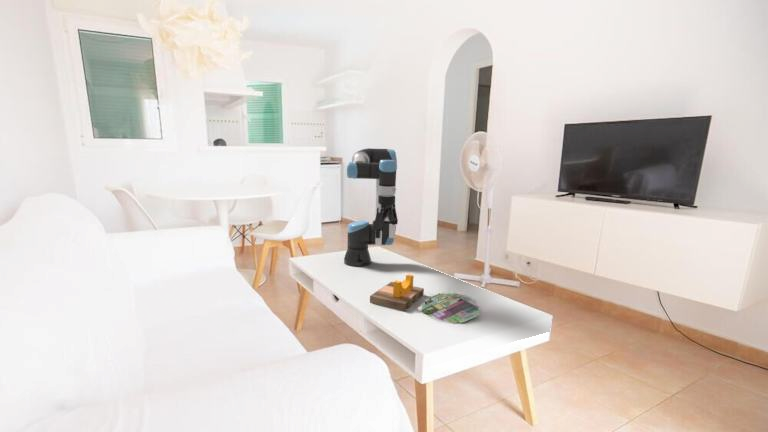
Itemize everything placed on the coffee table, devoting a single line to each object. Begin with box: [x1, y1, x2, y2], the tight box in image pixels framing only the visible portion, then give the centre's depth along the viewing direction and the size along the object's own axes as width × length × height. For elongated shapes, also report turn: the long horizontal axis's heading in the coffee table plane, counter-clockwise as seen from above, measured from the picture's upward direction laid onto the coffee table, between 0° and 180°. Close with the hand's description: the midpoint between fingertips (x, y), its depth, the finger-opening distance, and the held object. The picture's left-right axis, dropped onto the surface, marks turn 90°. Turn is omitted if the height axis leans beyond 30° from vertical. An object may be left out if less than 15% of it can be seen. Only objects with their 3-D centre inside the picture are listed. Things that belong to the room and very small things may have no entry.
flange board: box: [369, 281, 425, 312], centre depth 160 cm, size 20×16×3 cm
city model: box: [420, 292, 481, 325], centre depth 149 cm, size 25×23×6 cm
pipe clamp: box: [393, 274, 414, 298], centre depth 158 cm, size 12×4×6 cm, turn 146°
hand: (385, 241), depth 169 cm, fingers open, 13 cm apart
